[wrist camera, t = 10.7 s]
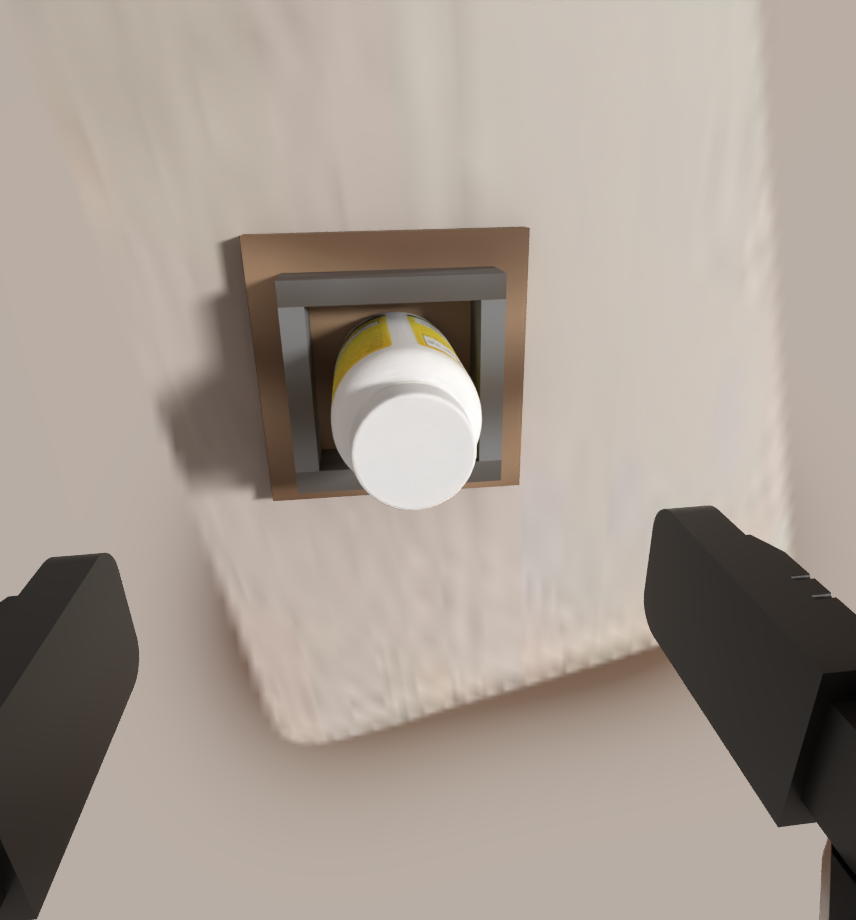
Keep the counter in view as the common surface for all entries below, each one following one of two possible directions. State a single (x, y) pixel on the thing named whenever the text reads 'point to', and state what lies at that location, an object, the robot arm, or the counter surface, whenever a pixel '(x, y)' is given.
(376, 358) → the supplement bottle
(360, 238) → the socket base
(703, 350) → the counter surface
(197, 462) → the counter surface
